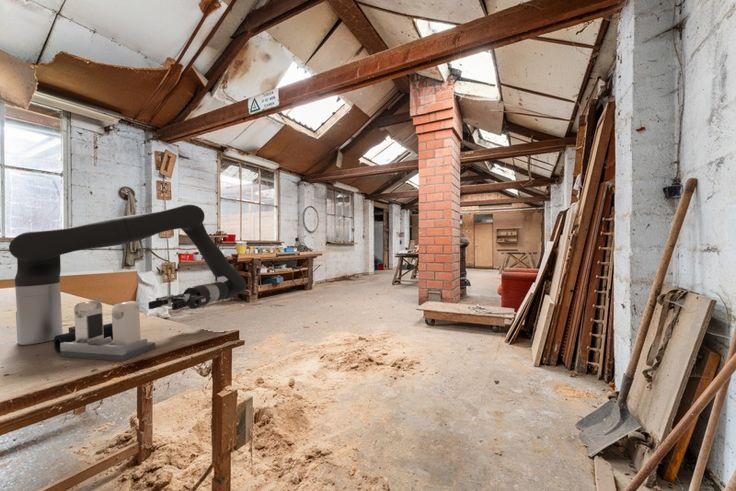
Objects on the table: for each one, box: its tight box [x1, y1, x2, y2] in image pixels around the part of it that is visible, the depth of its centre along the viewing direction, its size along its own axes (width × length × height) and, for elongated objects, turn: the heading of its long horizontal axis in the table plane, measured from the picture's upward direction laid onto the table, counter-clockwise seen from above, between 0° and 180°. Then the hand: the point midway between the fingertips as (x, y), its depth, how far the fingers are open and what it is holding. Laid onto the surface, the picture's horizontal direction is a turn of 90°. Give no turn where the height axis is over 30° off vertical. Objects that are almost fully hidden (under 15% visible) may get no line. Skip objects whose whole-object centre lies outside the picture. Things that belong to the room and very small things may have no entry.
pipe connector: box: [53, 322, 113, 354], centre depth 89 cm, size 12×5×15 cm
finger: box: [111, 300, 142, 346], centre depth 79 cm, size 4×4×12 cm
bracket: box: [60, 299, 156, 362], centre depth 80 cm, size 20×9×14 cm, turn 78°
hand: (161, 306), depth 90 cm, fingers open, 8 cm apart
